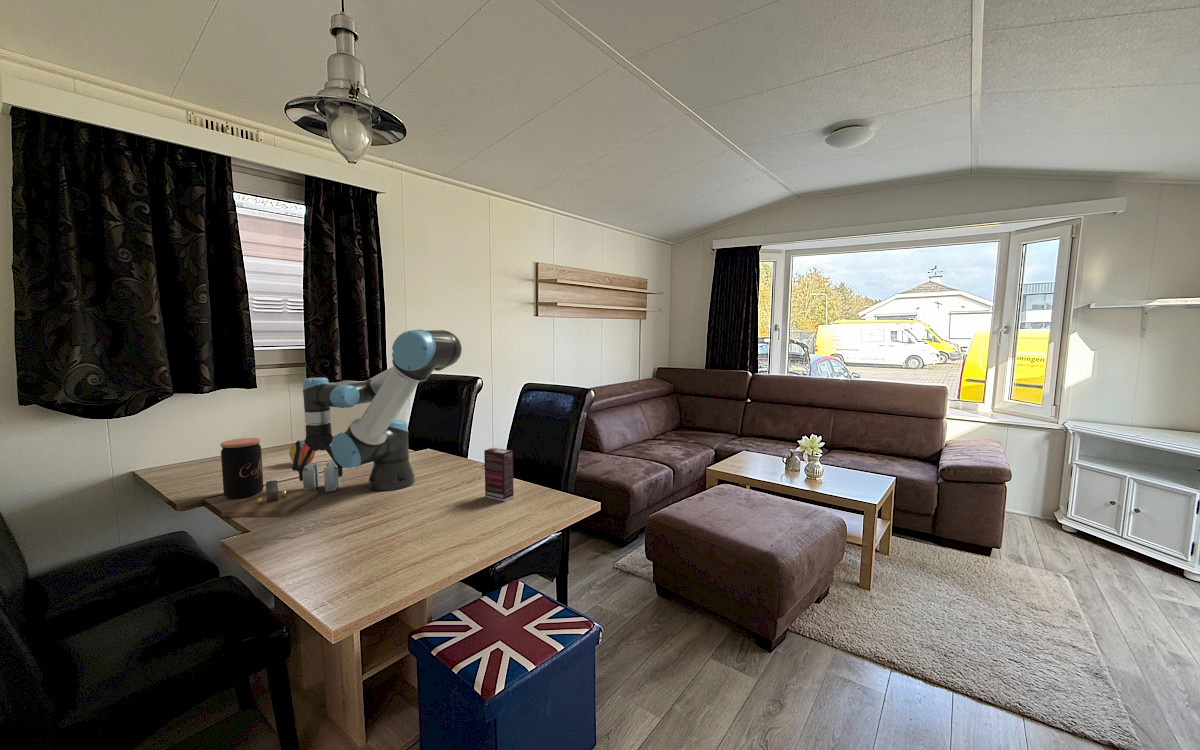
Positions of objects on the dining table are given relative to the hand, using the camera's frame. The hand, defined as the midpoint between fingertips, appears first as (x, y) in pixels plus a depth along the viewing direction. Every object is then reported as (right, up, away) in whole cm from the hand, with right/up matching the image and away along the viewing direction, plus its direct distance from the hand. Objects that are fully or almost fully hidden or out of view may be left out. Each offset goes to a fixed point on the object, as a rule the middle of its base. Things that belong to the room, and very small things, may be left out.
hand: (322, 487), depth 164 cm
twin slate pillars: (0, 0, 0) cm, 0 cm away
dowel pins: (-7, 0, -15) cm, 17 cm away
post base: (-7, -2, -15) cm, 17 cm away
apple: (-26, +2, +31) cm, 40 cm away
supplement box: (+63, -2, -8) cm, 63 cm away
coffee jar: (-23, -1, -5) cm, 24 cm away
